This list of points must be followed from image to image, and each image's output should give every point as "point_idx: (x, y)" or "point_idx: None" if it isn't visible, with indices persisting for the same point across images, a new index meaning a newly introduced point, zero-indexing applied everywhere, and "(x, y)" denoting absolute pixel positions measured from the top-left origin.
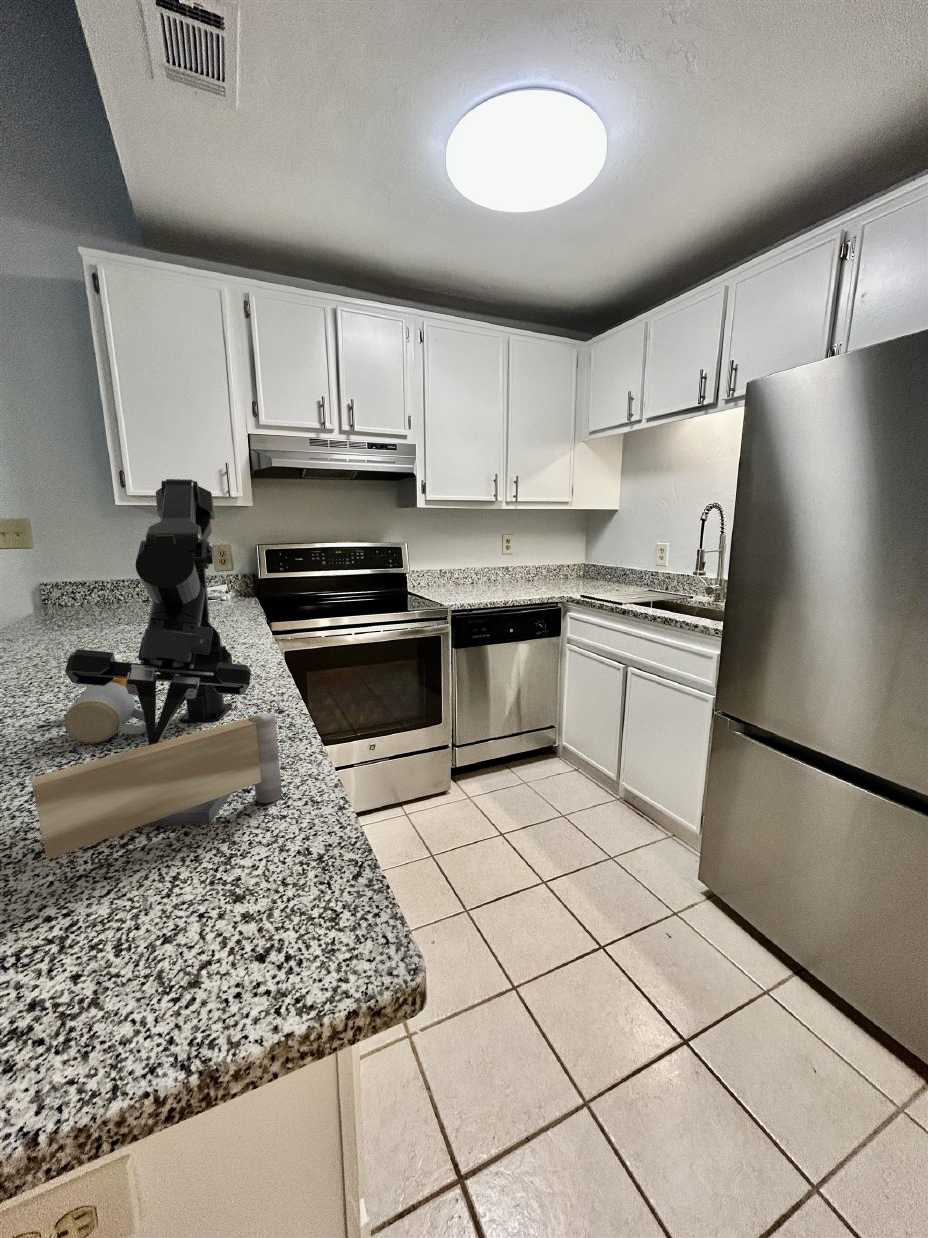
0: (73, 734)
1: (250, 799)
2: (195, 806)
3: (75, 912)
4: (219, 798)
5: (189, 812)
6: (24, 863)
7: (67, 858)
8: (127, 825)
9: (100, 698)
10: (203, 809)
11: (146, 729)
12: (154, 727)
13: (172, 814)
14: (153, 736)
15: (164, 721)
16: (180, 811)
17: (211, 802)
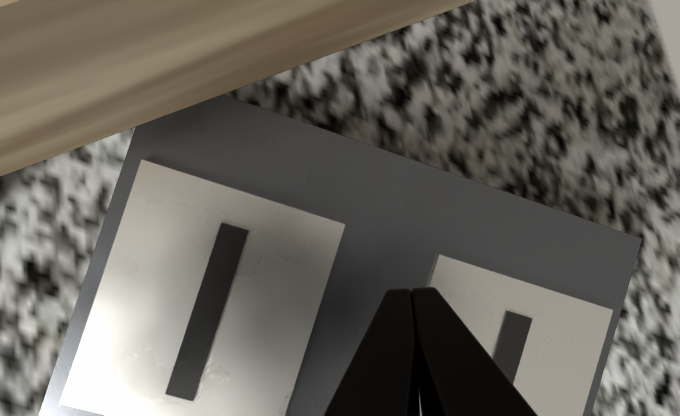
0: None
1: (23, 203)
2: (208, 131)
3: None
4: (122, 170)
5: (225, 96)
6: (649, 88)
7: (551, 66)
8: None
9: None
10: None
11: (482, 347)
12: (428, 362)
13: (286, 117)
14: (418, 318)
15: (360, 406)
16: (259, 117)
17: (149, 139)
